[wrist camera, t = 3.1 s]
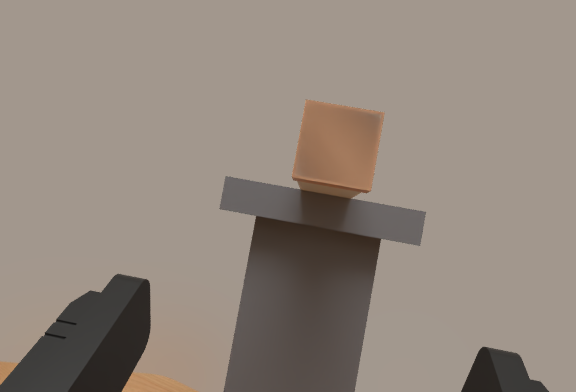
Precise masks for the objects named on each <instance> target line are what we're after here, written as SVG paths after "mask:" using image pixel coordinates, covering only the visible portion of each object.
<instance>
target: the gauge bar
mask: <svg viewBox="0 0 576 392" xmlns="http://www.w3.org/2000/svg"><path fill="white" fill-rule="evenodd" d="M383 119H384V112H378V111H372V110H366V109H360V108H354V107H348V106H342V105H336V104H330V103H324V102H318V101H312V100H306V102H305V108H304V113H303V119H302V125H301V130H300V135H299V141H298V146H297V151H296V157H295V163H294V168H293V174H292V178H293V180H295V181H297V182H298V184H299V187H300V189H301V190H306V191H311V192H317V193H322V194H328V195H333V196H339V197H345V198H350V199H351V198H353V197H354V196H356V195H358V194H359V193H361V192H363V193H368V192H370V191H371V188H372V181H373V176H374V170H375V165H376V159H377V153H378V147H379V142H380V136H381V131H382V125H383Z"/></svg>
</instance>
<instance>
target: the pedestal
mask: <svg viewBox="0 0 576 392" xmlns="http://www.w3.org/2000/svg"><path fill="white" fill-rule="evenodd" d="M220 209H222V210H229V211H233V212H239V213H245V214H250V215H255V216H256V220H255V225H254V231H253V236H252V242H251V247H250V252H249V258H248V264H247V269H246V274H245V279H244V285H243V290H242V296H241V301H240V306H239V312H238V317H237V322H236V328H235V333H234V339H233V344H232V349H231V355H230V360H229V366H228V371H227V377H226V382H225V388H224V392H354V391H355V385H356V379H357V374H358V368H359V362H360V356H361V351H362V345H363V339H364V333H365V327H366V322H367V316H368V310H369V304H370V298H371V293H372V287H373V281H374V276H375V270H376V264H377V259H378V253H379V247H380V241H381V239H386V240H391V241H396V242H402V243H407V244H413V245H418V246H420V242H421V238H422V232H423V226H424V220H425V214H426V212H423V211H417V210H412V209H406V208H401V207H395V206H389V205H384V204H378V203H373V202H367V201H361V200H356V199H350V198H345V197H339V196H333V195H328V194H322V193H317V192H311V191H306V190H300V189H294V188H289V187H283V186H277V185H271V184H266V183H261V182H255V181H250V180H243V179H238V178H233V177H227V176H226V177H225V183H224V188H223V193H222V199H221V204H220Z"/></svg>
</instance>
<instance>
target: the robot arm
mask: <svg viewBox="0 0 576 392" xmlns="http://www.w3.org/2000/svg"><path fill="white" fill-rule="evenodd" d="M149 334H150V283H149V281H148V280H147V279H142V278H137V277H131V276H126V275H121V274H117V275H115V276H114V277H113V278H112V279H111V281H110V282H109V283H108V285H107V286H106V287H105V288H104V290H103V291H102V292H101V293H100V292H95V291H89V292H88V293H86V294H84V295H82V296H81V297H79V298H78V299H76V300H74V301H73V302H71V303H70V304H69V305H68V306H67V307H66V309H65V310H64V311H63V312H62V313H61V315H60V316H59V317H58V318H57V320H56V322H55V323H53V324H52V325H51V326H50V328H49V329H48V330H47V331H46V332H45V335H44V337H43V336H42V337H41V338H40V339H39V340H38V342H37V343H36V344H35V345H34V346H33V348H32V349H31V350H30V351H29V352H28V353H27V355H26V356H25V357H24V358H23V359H22V360H21V362H20V363H19V364H18V365H17V366H16V367H15V369H14V370H13V371H12V372H11V373H10V375H9V376H8V377H7V378H6V379H5V380H4V382H3V383H2V384H1V385H0V392H122V390H123V388H124V386H125V385H126V383H127V381H128V379H129V377H130V376H131V374H132V372H133V370H134V368H135V366H136V365H137V363H138V361H139V359H140V358H141V356H142V354H143V352H144V350H145V348H146V345H147V342H148V338H149ZM461 392H549V391H548V390H547V389H546V388H545V386H544V385H543V384H542V383H541V382H539V381H534V380H530V379H529V376H528V374H527V371H526V368H525V366H524V363H523V361H522V359H521V357H520V356H519V355H518V354H517V353H513V352H508V351H503V350H498V349H493V348H488V347H482V348H481V349H480V350H479V352H478V354H477V356H476V359H475V361H474V363H473V366H472V368H471V370H470V373H469V375H468V377H467V380H466V382H465V384H464V386H463V389H462V391H461Z"/></svg>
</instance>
